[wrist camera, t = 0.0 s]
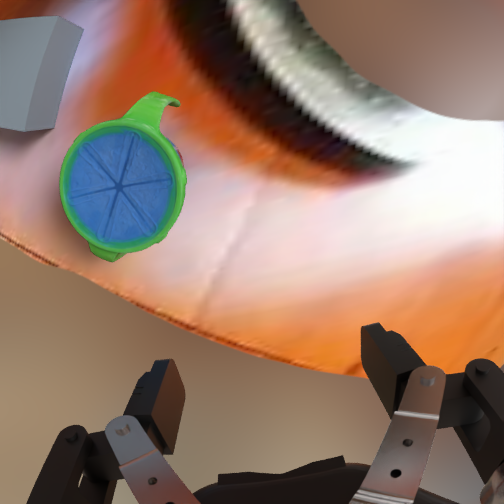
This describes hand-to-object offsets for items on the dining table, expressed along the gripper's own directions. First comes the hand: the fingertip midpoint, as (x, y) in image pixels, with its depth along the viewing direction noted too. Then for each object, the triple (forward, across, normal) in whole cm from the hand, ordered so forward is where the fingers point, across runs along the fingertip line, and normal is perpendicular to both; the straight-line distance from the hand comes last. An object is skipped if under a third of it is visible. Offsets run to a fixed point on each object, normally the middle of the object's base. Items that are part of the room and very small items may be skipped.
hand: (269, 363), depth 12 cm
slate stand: (+19, +23, -26) cm, 40 cm away
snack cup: (+21, +9, -10) cm, 25 cm away
